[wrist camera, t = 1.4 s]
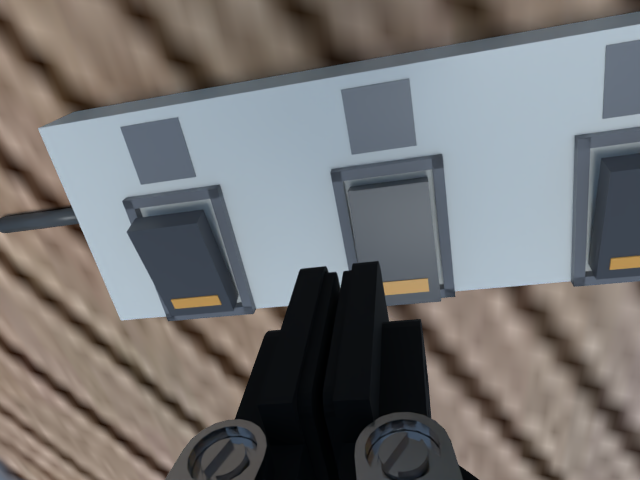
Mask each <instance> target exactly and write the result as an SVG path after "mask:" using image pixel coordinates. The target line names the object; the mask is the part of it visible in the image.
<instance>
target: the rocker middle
mask: <svg viewBox="0 0 640 480" xmlns="http://www.w3.org/2000/svg"><path fill="white" fill-rule="evenodd" d="M348 199H349V206H350V212H351V219H352V225H353V232H354V239H355V245H356V252H357V259H358V263H362V262H372V261H379V264H380V268H381V274H382V281H383V287H384V293H385V299H386V306H391V305H403V304H415V303H427V302H439V301H441V295H440V285H439V276H438V266H437V257H436V248H435V238H434V229H433V219H432V210H431V201H430V191H429V182H428V177H421V178H413V179H406V180H398V181H390V182H382V183H375V184H367V185H359V186H352V187H350V188H349V190H348Z"/></svg>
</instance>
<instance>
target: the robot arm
mask: <svg viewBox="0 0 640 480" xmlns="http://www.w3.org/2000/svg"><path fill="white" fill-rule="evenodd" d="M165 480H479V479H477V478H476V477H475V476H473V475H472V474H471V473H469V472H468V471H466V470H465V469H464V468H462V467H461V466H459V465H458V462H457V459H456V455H455V452H454V449H453V446H452V443H451V440H450V438H449V436H448V434H447V432H446V431H445V429H444V428H443V427H442V426H440V425H439V424H438V423H437V422H436V421H435V420H433V419H431V409H430V396H429V384H428V374H427V364H426V355H425V347H424V339H423V331H422V324H421V319H416V320H403V321H390V322H389V318H388V312H387V306H386V299H385V293H384V287H383V281H382V274H381V268H380V264H379V261H372V262H362V263H353V264H352V270H349V271H343V276H342V282H341V287H340V283H339V279H338V275H337V273H336V272H328V269H327V267H326V266H322V267H312V268H303V269H300V271H299V273H298V276H297V280H296V283H295V286H294V289H293V292H292V295H291V299H290V302H289V305H288V308H287V311H286V315H285V318H284V321H283V324H282V327H281V330H274V331H268V332H266V334H265V336H264V338H263V341H262V344H261V347H260V350H259V352H258V355H257V358H256V361H255V364H254V367H253V369H252V372H251V375H250V378H249V381H248V384H247V386H246V389H245V392H244V395H243V398H242V401H241V403H240V406H239V409H238V412H237V415H236V418H235V419H234V420H226V421H222V422H219V423H215V424H213V425H211V426H209V427H207V428H205V429H204V430H202V431H201V432H200V433H198V434H197V435H196V436H195V437H193V438H192V439H191V440H190V442H189V443H188V444H187V445H186V447H185V448H184V449H183V451H182V453H181V454H180V456H179V457H178V459H177V461H176V462H175V464H174V466H173V467H172V469H171V471H170V472H169V474H168V476H167V477H166V479H165Z"/></svg>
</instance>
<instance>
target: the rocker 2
mask: <svg viewBox="0 0 640 480" xmlns="http://www.w3.org/2000/svg"><path fill="white" fill-rule="evenodd" d="M588 264H589V266H590V268H591V270H592V272H593V274H594V276H595V278H596V280H598V279H609V278H621V277H632V276H640V153H637V154H630V155H622V156H614V157H606V158H601V164H600V172H599V180H598V188H597V197H596V205H595V213H594V221H593V230H592V238H591V246H590V254H589V262H588Z"/></svg>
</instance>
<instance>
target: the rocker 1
mask: <svg viewBox="0 0 640 480" xmlns="http://www.w3.org/2000/svg"><path fill="white" fill-rule="evenodd" d="M127 234H128V236H129V238H130V240H131V242H132V243H133V245H134V247H135V249H136V251H137V253H138V255H139V257H140V259H141V260H142V262H143V264H144V266H145V268H146V270H147V272H148V274H149V276H150V277H151V279H152V281H153V283H154V285H155V287H156V289H157V291H158V293H159V295H160V296H161V298H162V300H163V302H164V304H165V306H166V308H167V310H168V312H169V313H170V315H171V316H182V315H194V314H205V313H217V312H228V311H234V309H235V306H236V303H237V299H238V293H237V291H236V288H235V286H234V283H233V281H232V279H231V276H230V274H229V271H228V269H227V266H226V264H225V261H224V259H223V257H222V254H221V252H220V249H219V247H218V244H217V242H216V239H215V237H214V235H213V232H212V230H211V227H210V225H209V222H208V220H207V217H206V215H205V212H204V210H195V211H187V212H180V213H172V214H164V215H156V216H149V217H141V218H135V220H134V221H133V223H132V224H131V226H130V227H129V229H128V230H127Z"/></svg>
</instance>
